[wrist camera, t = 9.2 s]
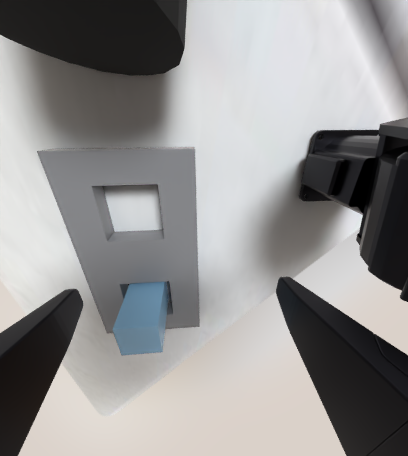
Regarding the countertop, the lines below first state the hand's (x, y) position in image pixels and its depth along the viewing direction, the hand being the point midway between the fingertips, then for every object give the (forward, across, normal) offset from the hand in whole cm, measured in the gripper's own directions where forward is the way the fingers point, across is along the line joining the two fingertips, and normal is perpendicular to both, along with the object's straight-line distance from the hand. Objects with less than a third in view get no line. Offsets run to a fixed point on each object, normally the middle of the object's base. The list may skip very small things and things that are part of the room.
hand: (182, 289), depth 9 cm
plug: (+12, +5, +12) cm, 17 cm away
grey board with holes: (+12, +5, +6) cm, 14 cm away
